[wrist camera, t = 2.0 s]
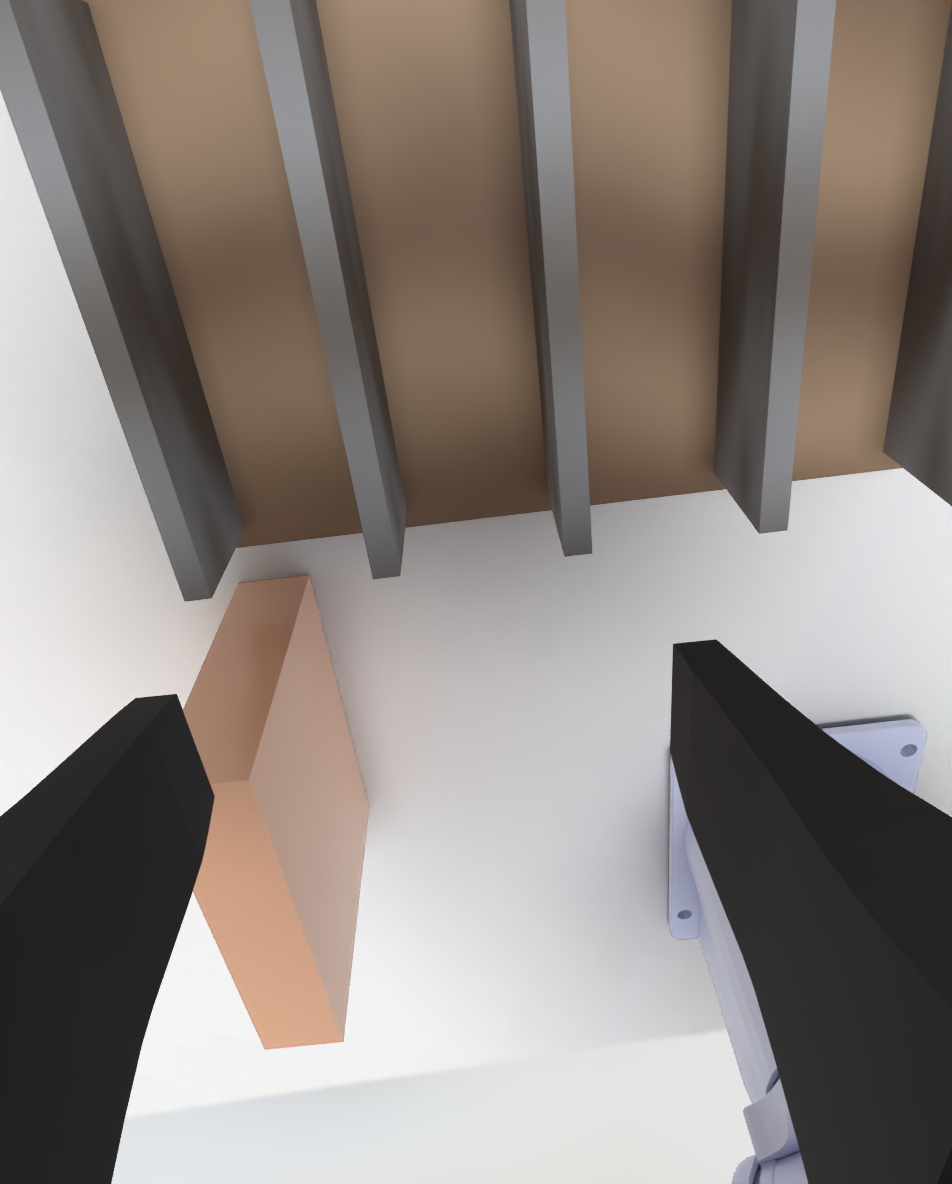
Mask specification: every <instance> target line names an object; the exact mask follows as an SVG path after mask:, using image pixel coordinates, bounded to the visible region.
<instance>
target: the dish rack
mask: <svg viewBox="0 0 952 1184" xmlns="http://www.w3.org/2000/svg"><path fill="white" fill-rule="evenodd" d="M0 90H1V93H2V95H3V98H4V101H5V104H6V106H7V109H8V112H9V115H10V118H11V120H12V123H13V126H14V129H15V131H16V134H17V137H18V140H19V143H20V145H21V148H22V151H23V154H24V156H25V159H26V162H27V165H28V168H29V170H30V173H31V176H32V179H33V181H34V184H35V187H36V190H37V193H38V195H39V198H40V201H41V204H42V206H43V209H44V212H45V215H46V218H47V220H48V223H49V226H50V229H51V231H52V234H53V237H54V240H55V243H56V245H57V248H58V251H59V254H60V256H61V259H62V262H63V265H64V268H65V270H66V273H67V276H68V279H69V281H70V284H71V287H72V290H73V293H74V295H75V298H76V301H77V304H78V306H79V309H80V312H81V315H82V318H83V320H84V323H85V326H86V329H87V331H88V334H89V337H90V340H91V343H92V345H93V348H94V351H95V354H96V356H97V359H98V362H99V365H100V368H101V370H102V373H103V376H104V379H105V381H106V384H107V387H108V390H109V393H110V395H111V398H112V401H113V404H114V406H115V409H116V412H117V415H118V418H119V420H120V423H121V426H122V429H123V431H124V434H125V437H126V440H127V443H128V445H129V448H130V451H131V454H132V456H133V459H134V462H135V465H136V468H137V470H138V473H139V476H140V479H141V481H142V484H143V487H144V490H145V492H146V495H147V498H148V501H149V504H150V506H151V509H152V512H153V515H154V517H155V520H156V523H157V526H158V529H159V531H160V534H161V537H162V540H163V542H164V545H165V548H166V551H167V554H168V556H169V559H170V562H171V565H172V567H173V570H174V573H175V576H176V579H177V581H178V584H179V587H180V590H181V592H182V595H183V598H184V601H193V600H201V599H209V598H212V596H213V594H214V592H215V590H216V588H217V586H218V584H219V582H220V579H221V577H222V575H223V573H224V571H225V569H226V567H227V565H228V563H229V561H230V559H231V557H232V555H233V552H234V550H235V548H239V547H248V546H256V545H264V544H273V543H281V542H289V541H298V540H306V539H314V538H322V537H331V536H339V535H347V534H356V533H363V534H364V539H365V544H366V548H367V553H368V558H369V562H370V567H371V572H372V576H373V579H379V578H387V577H396V576H400V573H401V563H402V553H403V543H404V533H405V528H406V527H414V526H422V525H431V524H439V523H447V522H456V521H464V520H472V519H481V518H489V517H497V516H506V515H514V514H522V513H530V512H539V511H547V510H552V511H553V515H554V518H555V522H556V526H557V530H558V534H559V537H560V541H561V545H562V549H563V553H564V556H573V555H582V554H590V553H592V540H591V520H590V505H597V504H605V503H614V502H622V501H630V500H639V499H647V498H655V497H664V496H672V495H680V494H689V493H697V492H705V491H713V490H722V489H727V490H728V492H729V493H730V495H731V496H732V497H733V499H734V500H735V501H736V503H737V504H738V505H739V507H740V508H741V510H742V511H743V512H744V514H745V515H746V516H747V518H748V519H749V520H750V522H751V523H752V524H753V526H754V527H755V529H756V530H757V531H758V533H759V534H760V533H768V532H777V531H785V530H787V527H788V516H789V506H790V495H791V484H792V481H797V480H805V479H813V478H822V477H830V476H838V475H847V474H855V473H863V472H872V471H880V470H888V469H897V468H904V469H905V470H907V471H908V472H909V473H910V474H912V475H913V476H914V477H916V478H917V479H918V480H919V481H921V482H922V483H923V484H924V485H926V486H927V487H928V488H929V489H931V490H932V491H933V492H935V493H936V494H937V495H938V496H940V497H941V498H942V499H943V500H945V501H946V502H947V503H949V504H950V505H951V506H952V0H0Z"/></svg>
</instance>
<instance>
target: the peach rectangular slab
mask: <svg viewBox="0 0 952 1184" xmlns="http://www.w3.org/2000/svg"><path fill="white" fill-rule="evenodd" d="M183 712H184V715H185V718H186V720H187V723H188V726H189V728H190V731H191V734H192V736H193V739H194V742H195V744H196V747H197V750H198V753H199V755H200V758H201V761H202V763H203V766H204V769H205V771H206V774H207V777H208V779H209V782H210V785H211V787H212V790H213V793H214V795H215V798H214V804H213V810H212V815H211V821H210V827H209V832H208V837H207V842H206V847H205V851H204V856H203V861H202V864H201V867H200V870H199V873H198V876H197V879H196V882H195V885H194V888H193V893H194V895H195V897H196V899H197V901H198V904H199V906H200V908H201V910H202V912H203V915H204V917H205V919H206V921H207V923H208V926H209V928H210V930H211V932H212V934H213V937H214V939H215V941H216V943H217V945H218V948H219V950H220V952H221V954H222V956H223V959H224V961H225V963H226V965H227V967H228V970H229V972H230V974H231V976H232V978H233V981H234V983H235V985H236V987H237V989H238V992H239V994H240V996H241V998H242V1000H243V1003H244V1005H245V1007H246V1009H247V1011H248V1014H249V1016H250V1018H251V1020H252V1022H253V1025H254V1027H255V1029H256V1031H257V1033H258V1036H259V1038H260V1040H261V1042H262V1045H263V1047H264V1049H275V1048H285V1047H295V1046H306V1045H316V1044H326V1043H336V1042H343V1040H344V1031H345V1022H346V1013H347V1004H348V995H349V986H350V977H351V968H352V959H353V950H354V941H355V932H356V923H357V914H358V905H359V895H360V886H361V877H362V868H363V859H364V850H365V841H366V832H367V823H368V814H369V802H368V798H367V794H366V791H365V787H364V783H363V779H362V775H361V771H360V767H359V764H358V760H357V756H356V752H355V748H354V744H353V741H352V737H351V733H350V729H349V725H348V721H347V717H346V714H345V710H344V706H343V702H342V698H341V694H340V691H339V687H338V683H337V679H336V675H335V671H334V668H333V664H332V660H331V656H330V652H329V648H328V644H327V641H326V637H325V633H324V629H323V625H322V621H321V618H320V614H319V610H318V606H317V602H316V598H315V594H314V591H313V587H312V583H311V579H310V575H303V576H295V577H286V578H278V579H269V580H261V581H252V582H244V583H238V586H237V588H236V590H235V593H234V595H233V597H232V599H231V602H230V604H229V606H228V609H227V611H226V613H225V615H224V618H223V620H222V622H221V624H220V627H219V629H218V631H217V634H216V636H215V638H214V640H213V643H212V645H211V647H210V650H209V652H208V654H207V656H206V659H205V661H204V663H203V666H202V668H201V670H200V672H199V675H198V677H197V679H196V682H195V684H194V686H193V688H192V691H191V693H190V695H189V698H188V700H187V702H186V704H185V707H184V709H183Z"/></svg>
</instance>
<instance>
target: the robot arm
mask: <svg viewBox="0 0 952 1184" xmlns="http://www.w3.org/2000/svg"><path fill="white" fill-rule="evenodd" d="M926 737H927V731H926V730H925V729H924V727H923V726H922V725H921V723H920V722H919V721H917V720H914V719H907V720H897V721H888V722H879V723H870V724H861V725H852V726H843V727H834V728H824V729H821V728H819V727H818V726H817V725H816V724H814V723H813V722H812V721H811V720H809V719H808V718H807V717H806V716H804V715H803V714H802V713H801V712H799V711H798V710H797V709H796V708H794V707H793V706H792V705H791V704H790V703H789V702H787V701H786V700H785V699H784V698H783V697H781V696H780V695H779V694H778V693H777V692H776V691H774V690H773V689H772V688H771V687H770V686H769V685H768V684H766V683H765V682H764V681H763V680H762V679H761V678H759V677H758V676H757V675H756V674H755V673H754V672H753V671H752V670H750V669H749V668H748V667H747V666H746V665H745V664H744V663H742V662H741V661H740V660H739V659H738V658H737V657H736V656H735V655H733V654H732V653H731V652H730V651H729V650H728V649H727V648H725V647H724V646H723V645H722V644H721V643H720V642H718V641H717V640H707V641H697V642H687V643H677V644H673V668H672V704H671V740H670V753H671V756H670V830H669V929H670V932H671V935H672V936H673V937H674V938H676V939H680V940H685V939H695V938H699V939H700V942H701V945H702V949H703V952H704V955H705V958H706V962H707V965H708V968H709V972H710V975H711V978H712V981H713V985H714V988H715V991H716V995H717V998H718V1001H719V1004H720V1008H721V1011H722V1014H723V1018H724V1021H725V1024H726V1027H727V1031H728V1034H729V1037H730V1041H731V1044H732V1047H733V1050H734V1054H735V1057H736V1060H737V1063H738V1067H739V1070H740V1073H741V1077H742V1080H743V1083H744V1085H745V1088H746V1090H747V1093H748V1095H749V1097H750V1099H751V1102H752V1103H753V1104H751V1105H749V1106H747V1107H745V1108H744V1110H743V1113H744V1116H745V1120H746V1123H747V1127H748V1130H749V1133H750V1137H751V1140H752V1144H753V1147H754V1150H755V1154H756V1155H753V1156H750V1157H747V1158H746V1159H745V1160H743V1161H742V1162H741V1163H740V1164H739V1165H738V1167H737V1169H736V1171H735V1172H734V1175H733V1181H732V1184H952V817H950V816H949V815H947V814H945V813H944V812H942V811H941V810H939V809H937V808H936V807H934V806H932V805H931V804H929V803H928V802H926V801H924V800H923V799H921V798H919V797H918V796H916V795H915V794H914V790H915V785H916V781H917V777H918V772H919V768H920V763H921V759H922V755H923V750H924V746H925V741H926ZM906 745H908V746H907V747H905V748H903V747H904V746H906ZM214 798H215V795H214V793H213V790H212V787H211V785H210V782H209V779H208V777H207V774H206V771H205V769H204V766H203V763H202V761H201V758H200V755H199V753H198V750H197V747H196V744H195V742H194V739H193V736H192V734H191V731H190V728H189V726H188V723H187V720H186V718H185V715H184V712H183V710H182V707H181V704H180V702H179V699H178V696H177V694H172V695H162V696H153V697H143V698H135V699H134V700H133V701H132V702H130V703H129V704H128V705H127V706H125V707H124V708H123V709H122V710H120V711H119V712H118V713H117V714H116V715H115V716H113V717H112V718H111V719H110V720H109V721H108V722H107V723H106V724H104V725H103V726H102V727H101V728H100V729H99V730H98V731H97V732H95V733H94V734H93V735H92V736H91V737H90V738H89V739H88V740H87V741H86V742H84V743H83V744H82V745H81V746H80V747H79V748H78V749H77V750H76V751H75V752H73V753H72V754H71V755H70V756H69V757H68V758H67V759H66V760H65V761H63V762H62V763H61V764H60V765H59V766H58V767H57V768H56V769H55V770H53V771H52V772H51V773H50V774H49V775H48V776H47V777H46V778H44V779H43V780H42V781H41V782H40V783H39V784H38V785H37V786H36V787H34V788H33V789H32V790H31V791H30V792H29V793H28V794H27V795H25V796H24V797H23V798H22V799H21V800H20V801H18V802H17V803H16V804H15V805H14V806H12V807H11V808H10V809H9V810H8V811H6V812H5V813H4V814H3V815H2V816H0V1184H111V1181H112V1177H113V1171H114V1167H115V1162H116V1158H117V1153H118V1148H119V1143H120V1138H121V1133H122V1129H123V1124H124V1119H125V1115H126V1110H127V1106H128V1102H129V1098H130V1093H131V1089H132V1085H133V1081H134V1076H135V1072H136V1068H137V1063H138V1059H139V1055H140V1051H141V1046H142V1042H143V1039H144V1036H145V1032H146V1029H147V1025H148V1022H149V1019H150V1015H151V1012H152V1009H153V1006H154V1003H155V1000H156V997H157V994H158V991H159V988H160V985H161V982H162V979H163V977H164V974H165V971H166V968H167V965H168V962H169V959H170V956H171V953H172V950H173V947H174V944H175V942H176V939H177V936H178V933H179V930H180V927H181V924H182V921H183V918H184V915H185V912H186V909H187V906H188V903H189V900H190V897H191V894H192V891H193V888H194V885H195V882H196V879H197V876H198V873H199V870H200V867H201V864H202V861H203V856H204V851H205V847H206V842H207V837H208V832H209V827H210V821H211V815H212V810H213V804H214Z"/></svg>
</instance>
